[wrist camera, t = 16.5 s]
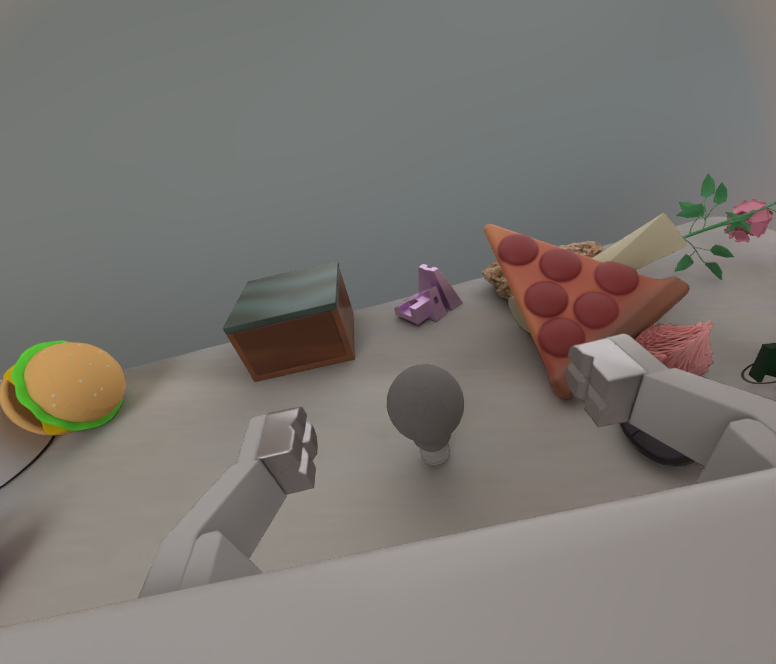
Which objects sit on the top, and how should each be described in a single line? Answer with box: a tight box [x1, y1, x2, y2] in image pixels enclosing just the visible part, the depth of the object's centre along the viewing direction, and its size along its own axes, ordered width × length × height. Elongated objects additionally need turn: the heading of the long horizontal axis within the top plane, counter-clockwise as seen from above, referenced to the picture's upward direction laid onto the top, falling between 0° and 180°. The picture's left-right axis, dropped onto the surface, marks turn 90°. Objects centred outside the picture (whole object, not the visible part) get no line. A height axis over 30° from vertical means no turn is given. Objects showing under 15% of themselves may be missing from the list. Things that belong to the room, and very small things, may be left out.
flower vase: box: [508, 174, 776, 333], centre depth 41 cm, size 12×12×35 cm
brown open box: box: [227, 269, 355, 382], centre depth 47 cm, size 12×14×8 cm
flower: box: [636, 321, 714, 377], centre depth 31 cm, size 8×8×6 cm
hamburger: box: [0, 341, 126, 435], centre depth 42 cm, size 12×12×9 cm
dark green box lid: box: [223, 261, 339, 334], centre depth 45 cm, size 12×14×1 cm
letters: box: [395, 264, 462, 325], centre depth 49 cm, size 8×7×6 cm
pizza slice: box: [484, 224, 690, 399], centre depth 37 cm, size 18×2×20 cm
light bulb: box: [387, 364, 464, 465], centre depth 28 cm, size 6×6×10 cm
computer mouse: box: [620, 421, 696, 466], centre depth 26 cm, size 6×9×4 cm, turn 98°
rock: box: [482, 241, 603, 299], centre depth 49 cm, size 17×5×10 cm
